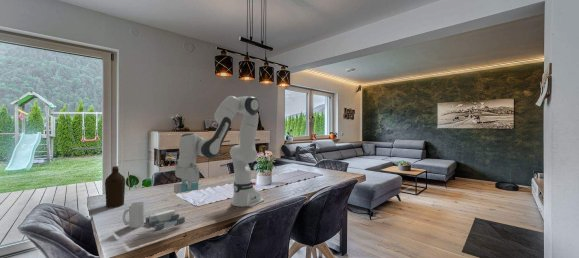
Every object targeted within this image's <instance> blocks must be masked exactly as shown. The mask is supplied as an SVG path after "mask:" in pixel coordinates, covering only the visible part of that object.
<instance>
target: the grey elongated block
mask: <svg viewBox="0 0 579 258" xmlns="http://www.w3.org/2000/svg"><path fill="white" fill-rule="evenodd" d="M174 214H176V210H174V209H169V210H165V211H160V212H158V213H152V214H149V215H148V217H149V223H150V221H152V220H155V219H159V222H162V221H166V220H170V219H171V215H174Z"/></svg>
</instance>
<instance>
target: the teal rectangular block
mask: <svg viewBox="0 0 579 258" xmlns="http://www.w3.org/2000/svg"><path fill="white" fill-rule="evenodd" d="M187 184H188V183H187V182H186V183H182V182H181V183H176V184H174V185H173V187H174V188H173V193H174V194H181V193H186V192H192V191H196V190H197V191H198V190H199V181H198V182H194V183H192V184H191V188H190V189H187V188H186V186H187Z"/></svg>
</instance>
